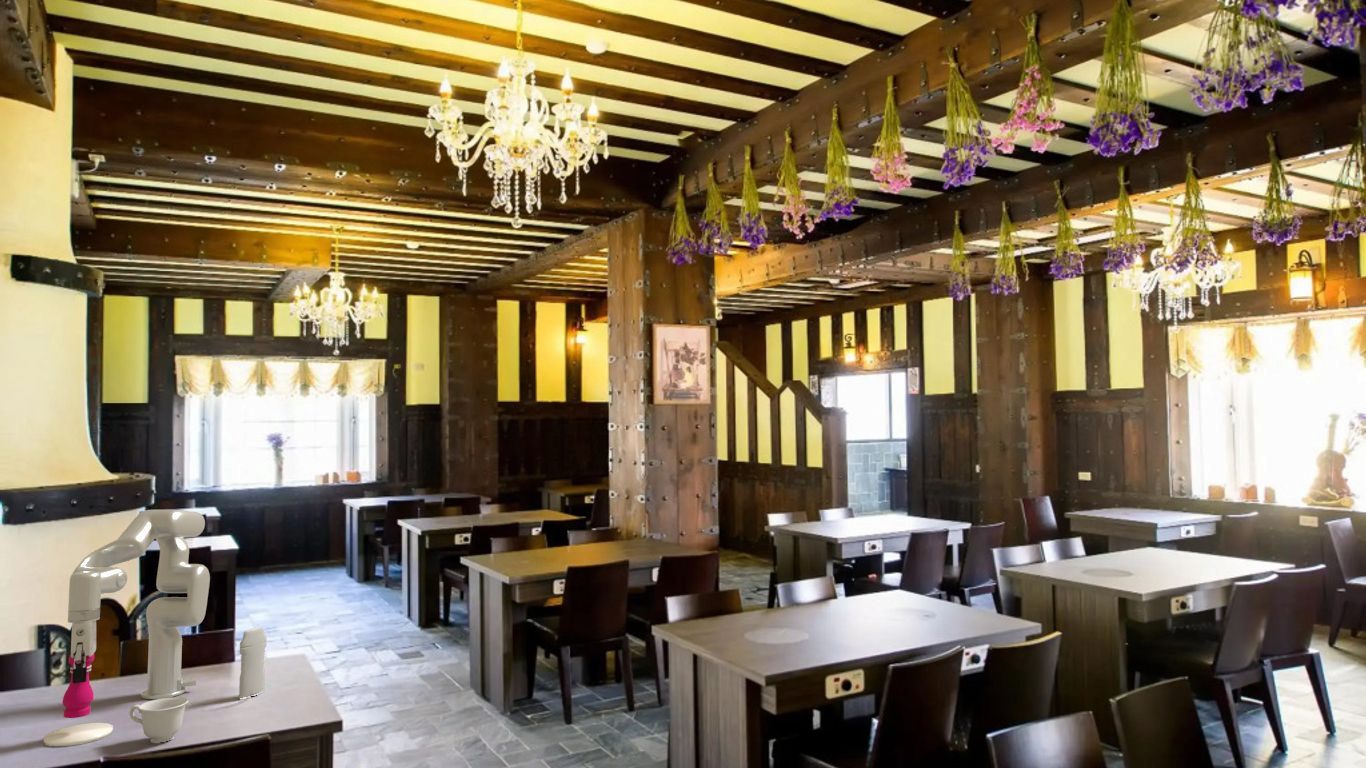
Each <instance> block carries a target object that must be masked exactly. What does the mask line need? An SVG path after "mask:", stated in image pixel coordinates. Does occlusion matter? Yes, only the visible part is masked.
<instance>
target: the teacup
mask: <svg viewBox="0 0 1366 768" xmlns="http://www.w3.org/2000/svg"><path fill="white" fill-rule="evenodd" d="M188 703H189V699H187V698H186V697H177V696H173V697H169V698H162V699H151V700H150V701H146V702H144V703H142V704H135V705H133V706H131V707H130V709H129V712H128V713H129V718H130V719H131V720H132V721H133V722H136V723H138V724H141V726H142V730H143V734H144V735H145V736H146V737H147V738H149V739H150V741H151V742H154V743H153V744H161V743H160V742H164V743H167V742H166V741H168V742H170V741H169V740H171V741H173V740H174V739H175V734H177V733H178V732H179V731H180V730H181V728H182V724H183V720H184V715H185V709H186V705H187V704H188ZM135 710H138V713H139V714H141V715H140V716H141V718H140V717H138V716H136V715H135ZM172 739H173V740H172ZM150 741H149V742H150ZM151 742H150V743H151Z"/></svg>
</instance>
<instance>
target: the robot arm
mask: <svg viewBox="0 0 1366 768" xmlns="http://www.w3.org/2000/svg"><path fill="white" fill-rule="evenodd" d="M205 526H206V521H205V517H204V516H203V514H201V513H200V512H199V511H191V510H190V511H189V510H182V509H181V510H180V509H147V510H146V509H145V510H143V511H141V512H140V513H138V514H137V515H136V516H135V517H134V519H133V520H132V521H131V522H130V524H129V525H128V526H127V527H126V529H124V531H123V532H122V533H121V534H120V535H119V537H117V539H115V540H113V541H111V542H109V543H107V544H104V545H103V546H101V547H99V548H98V549H95V550H94V551H92V552H91V553H89V554H88V555H86V556H85V557H84V558H83V559H81V561H80V562H79V564H78V565H77V566H76V568H75V569H74V570H73V572H72V573H71V575H70V578H69V586H68V608H67V615H68V616H67V623H68V624H69V623H70V624H71V625H72V626H71V642H70V644H71V645H70V654H71V657H72V658H74V667H73V678H72V683H81V682H86V678H87V667H86V658H87V656H88V655H89V657H91V656H92V655H93V654H94V655H95V652H96V650H97V621H98V620H100V618H101V617H100V616H101V599H102V598H101V597H102V596H101V595H102V594H114V593H116V592H119V591H120V590H122V589H124V587H125V586H126V584H127V582H128V574H127V572H126V570H125V569H123V568H120V567H117V566H115V567H113V566H114V565H119V564H122V563H125V562H129V561H133V560H134V559H137V558H139V557H141V556H143V554H145V552H146V551H147V550H148V548H149V547H150V546H151V545H152V543H153V541H155V540H156V542H157V545H158V547H159V559H158V567H157V575H156V583H155V584H156V589H157V590H158V591H159V592H161V593H166V594H187V597H186V596H185V597H184V596H183V597H182V596H181V597H179V596H171V597H170V596H169V597H168V596H164V597H158V598H156V599H154V600H152V601H151V602H150V603H149V604H148V606H147V608H146V612H145V614H146V615H145V616H146V623H147V629H148V652H147V653H148V655H147V656H148V657H147V658H148V659H147V679H146V680H147V681H146V682H147V683H146V690H144V691H142V692H141V694H140V697H141V698H142V699H145V700H157V699H162V698H171V697H177V696H179V695H182V694H184V693H186V689H187V688H186V687H192V686H193V687H194V686H197V679H193V678H189V679H185V678H184V679H183V676H182V653H183V652H182V650H183V649H182V648H183V647H182V646H183V638H182V637H183V635H182V633H181V632H180V629H179V628H178V627H183V628H184V627H187V628H188V627H196V626H198V625H200V624H201V623H202V622H203V620H204V619H205V616H206V611H207V606H208V597H209V589H210V582H211V581H210V580H211V576H210V575H211V574H210V572H209V568H208V567H206V566H205V565H204V564H201V563H200V564H199V563H189V555H190V547H189V544H188V542H187V541H186V539H185V538H196V537H198V536H200V535H201V534H202V533H203V531H204V529H205ZM73 653H75V655H73ZM83 654H85V656H82V655H83ZM81 659H84V661H83V660H81ZM90 675H91V671H89V677H90Z"/></svg>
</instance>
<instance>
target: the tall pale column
mask: <svg viewBox="0 0 1366 768" xmlns="http://www.w3.org/2000/svg"><path fill="white" fill-rule="evenodd" d="M266 648H267V635H266V634H265V629H264V627H263V626H262V627H252V628H250V629H248V630H245V631H244V632H243V635H242V639H241V641H240V643H239V654H240V661H241V662H240V675H239V688H238V691H239V692H238V693H239V694H238V695H239V696H238V699H239V698H243V697H248V696H251V695H254V694H257V693H259V692H261V691H263V690H264V691H265V684H266V683H265V681H266V679H265V677H266V676H265V675H266V669H265V655H266V654H265V652H266V650H265V649H266Z"/></svg>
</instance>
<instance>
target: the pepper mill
mask: <svg viewBox="0 0 1366 768" xmlns="http://www.w3.org/2000/svg"><path fill="white" fill-rule="evenodd" d="M73 655H75V653H73ZM82 656H85V654H83V655H82ZM81 660H83V661H84V659H81ZM94 660H95V653H94V654H93V655H92V656H91V657H89V655H88V656H87V658H86V667H87V678H86V682H81V683H72V678H73V667H74V658H72V657H71V653H70V655H69V657H68V663H69V664H70V668H69V669H70V671H69V673H70V674H71V678H70V682H69V685H68V687H67V689H66V690H65V692H64V695H63V698H62V705H63V706H64V707H65V709H63V718H66V719H76V718H82V717H86V716H89V715H90V714H91V710H92V707H91V706H90V704H91V703H92V702H93V701H94V699H95V698H94V690H93V688H92V685H91V682H90V676H89V671H90V672H91V671H92V663H93V662H94Z"/></svg>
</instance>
